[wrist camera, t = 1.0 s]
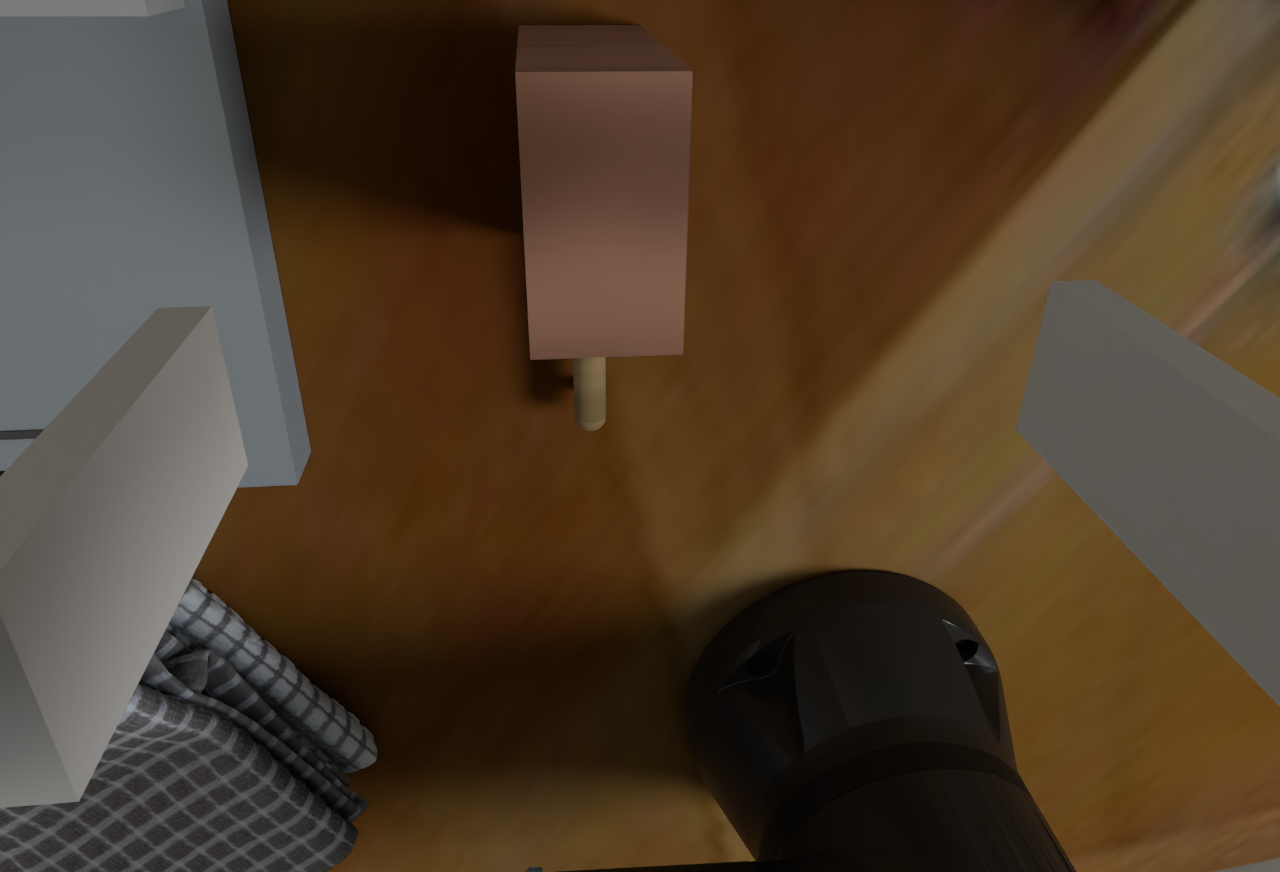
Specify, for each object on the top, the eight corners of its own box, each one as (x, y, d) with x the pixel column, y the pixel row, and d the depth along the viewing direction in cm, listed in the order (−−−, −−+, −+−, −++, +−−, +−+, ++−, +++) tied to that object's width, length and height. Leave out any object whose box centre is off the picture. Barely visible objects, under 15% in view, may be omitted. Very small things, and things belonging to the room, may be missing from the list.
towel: (-149, 719, 41) (-283, 878, 34) (174, 525, 38) (98, 656, 31) (113, 892, 48) (45, 1052, 41) (403, 739, 45) (381, 884, 38)
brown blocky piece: (637, 405, 37) (675, 571, 28) (537, 409, 37) (542, 579, 28) (640, 25, 31) (692, 70, 21) (518, 25, 30) (515, 72, 21)
